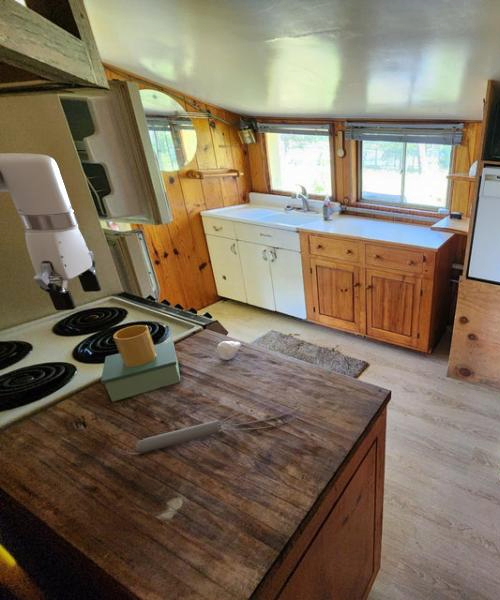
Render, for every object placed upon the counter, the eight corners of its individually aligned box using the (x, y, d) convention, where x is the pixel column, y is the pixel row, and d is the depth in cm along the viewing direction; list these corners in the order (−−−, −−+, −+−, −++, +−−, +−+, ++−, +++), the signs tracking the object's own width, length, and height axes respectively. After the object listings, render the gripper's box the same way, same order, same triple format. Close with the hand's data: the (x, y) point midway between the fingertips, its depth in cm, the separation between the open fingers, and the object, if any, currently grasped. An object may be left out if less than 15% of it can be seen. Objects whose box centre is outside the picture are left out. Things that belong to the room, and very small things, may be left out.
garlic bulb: (247, 352, 99) (244, 336, 97) (231, 362, 94) (228, 346, 92) (233, 347, 101) (230, 332, 98) (217, 358, 96) (213, 342, 93)
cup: (118, 368, 79) (107, 340, 76) (131, 353, 85) (121, 326, 82) (150, 365, 81) (141, 337, 78) (161, 350, 87) (152, 324, 84)
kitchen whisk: (133, 442, 68) (123, 420, 65) (300, 407, 79) (298, 387, 76) (122, 467, 63) (111, 444, 60) (302, 426, 74) (300, 404, 71)
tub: (110, 403, 78) (100, 381, 75) (114, 377, 86) (105, 356, 83) (182, 382, 85) (175, 361, 83) (178, 360, 94) (173, 340, 91)
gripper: (55, 213, 71) (82, 285, 78) (-11, 231, 56) (30, 319, 63) (97, 214, 73) (119, 284, 80) (43, 231, 58) (77, 316, 65)
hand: (80, 299), depth 71 cm, fingers open, 9 cm apart
